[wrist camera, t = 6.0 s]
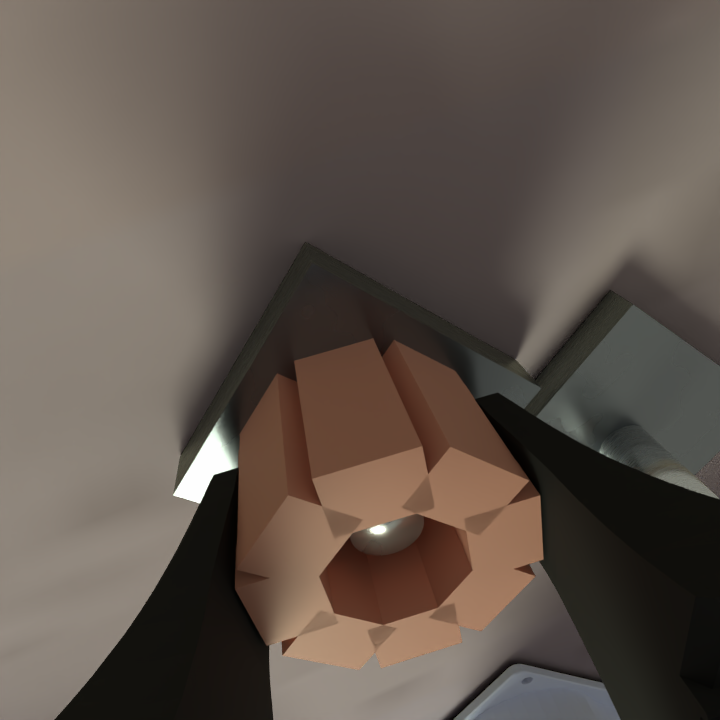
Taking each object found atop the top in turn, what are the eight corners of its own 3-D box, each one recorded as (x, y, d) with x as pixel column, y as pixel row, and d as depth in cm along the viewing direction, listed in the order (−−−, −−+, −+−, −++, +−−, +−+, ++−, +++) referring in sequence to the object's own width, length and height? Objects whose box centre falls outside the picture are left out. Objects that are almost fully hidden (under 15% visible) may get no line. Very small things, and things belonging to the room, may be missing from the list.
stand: (745, 385, 17) (867, 464, 14) (600, 528, 20) (674, 626, 16) (610, 290, 14) (722, 360, 11) (459, 470, 17) (514, 574, 13)
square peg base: (516, 360, 15) (608, 462, 11) (383, 524, 17) (422, 656, 13) (305, 242, 12) (331, 323, 8) (180, 457, 15) (155, 598, 11)
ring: (479, 491, 15) (546, 615, 12) (283, 551, 15) (294, 696, 12) (455, 315, 12) (536, 412, 9) (209, 384, 12) (193, 514, 8)
